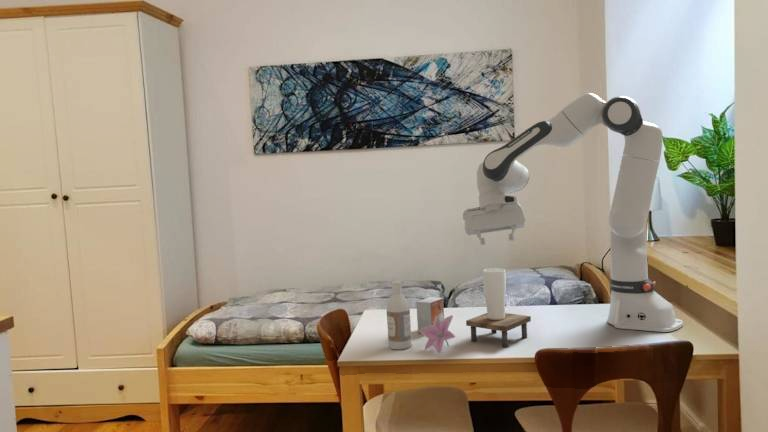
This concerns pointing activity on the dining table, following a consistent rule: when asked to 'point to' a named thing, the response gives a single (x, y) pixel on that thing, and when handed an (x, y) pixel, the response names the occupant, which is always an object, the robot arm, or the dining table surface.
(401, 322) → the bath foam
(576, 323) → the dining table surface
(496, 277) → the white tall cup
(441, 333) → the lily
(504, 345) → the shelf stand
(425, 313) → the small box
